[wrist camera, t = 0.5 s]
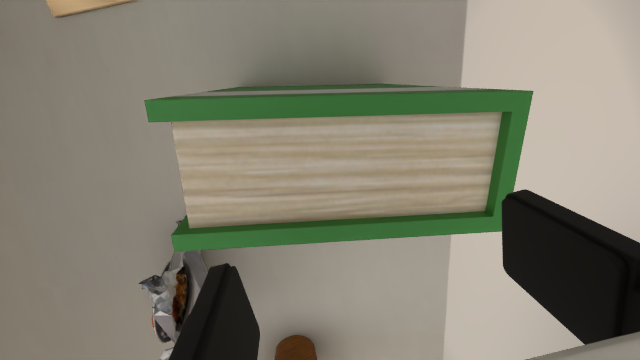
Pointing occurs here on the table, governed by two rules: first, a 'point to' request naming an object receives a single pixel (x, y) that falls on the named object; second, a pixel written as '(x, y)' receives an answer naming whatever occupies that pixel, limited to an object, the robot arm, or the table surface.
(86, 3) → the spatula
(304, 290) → the table surface
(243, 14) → the table surface
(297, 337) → the disposable coffee cup
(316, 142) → the hardback book
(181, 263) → the meal
